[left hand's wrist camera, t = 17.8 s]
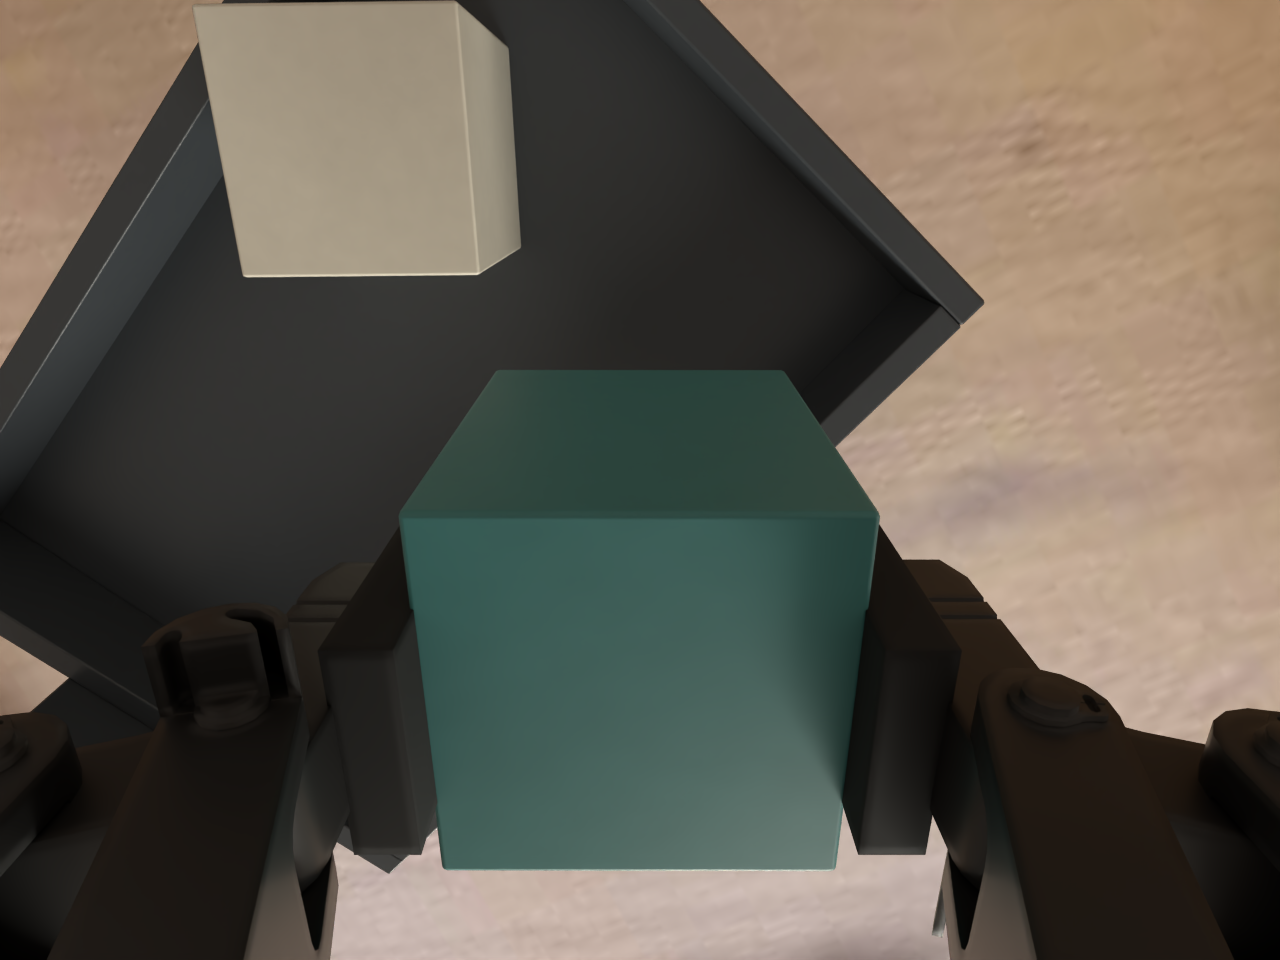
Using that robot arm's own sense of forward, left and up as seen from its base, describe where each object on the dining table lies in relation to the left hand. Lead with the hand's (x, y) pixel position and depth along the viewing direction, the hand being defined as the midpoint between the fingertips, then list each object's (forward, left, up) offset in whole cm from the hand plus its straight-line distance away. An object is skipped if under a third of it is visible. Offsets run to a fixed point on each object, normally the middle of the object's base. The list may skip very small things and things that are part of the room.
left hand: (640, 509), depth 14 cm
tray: (+6, +1, -10) cm, 12 cm away
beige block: (+6, -6, -10) cm, 13 cm away
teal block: (0, 0, 0) cm, 0 cm away
